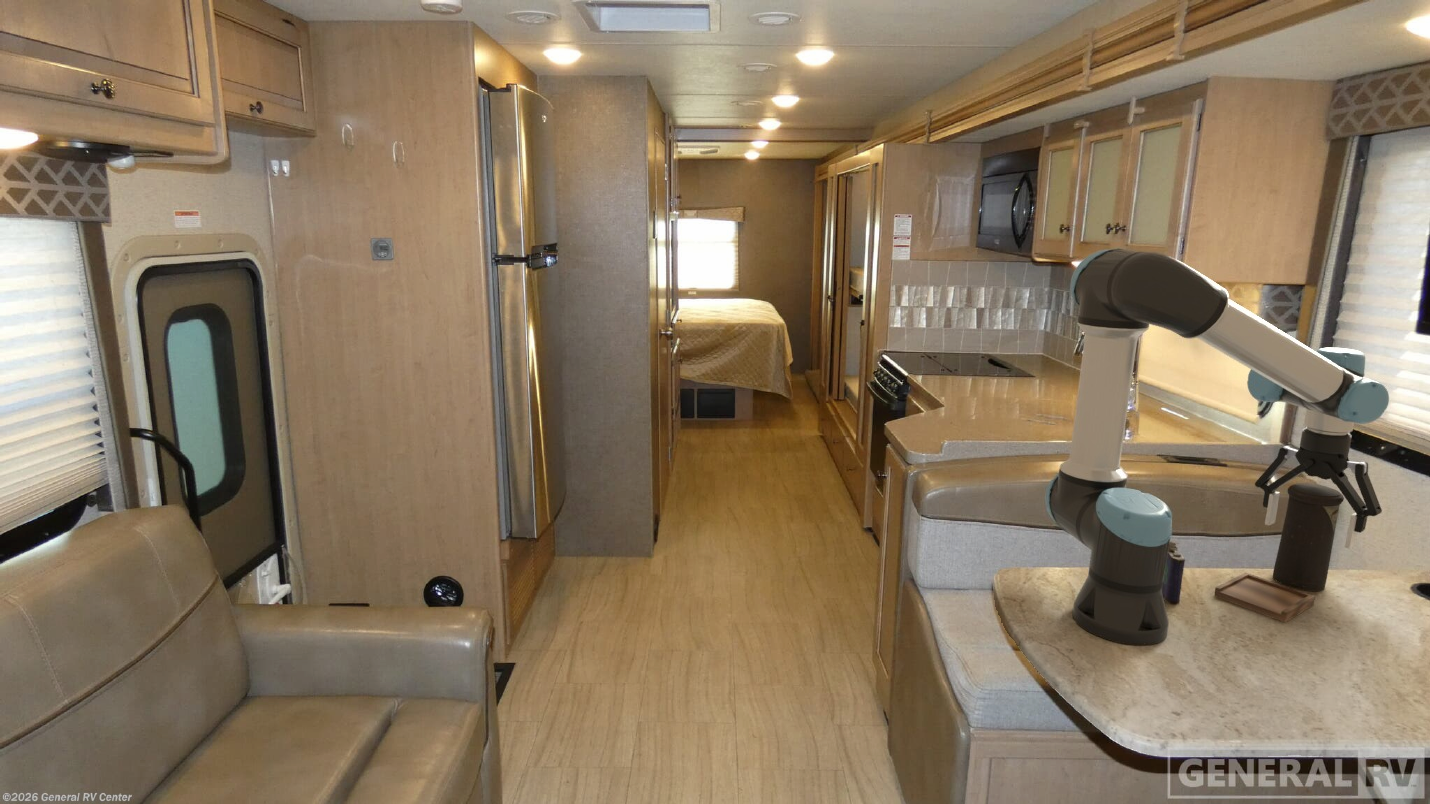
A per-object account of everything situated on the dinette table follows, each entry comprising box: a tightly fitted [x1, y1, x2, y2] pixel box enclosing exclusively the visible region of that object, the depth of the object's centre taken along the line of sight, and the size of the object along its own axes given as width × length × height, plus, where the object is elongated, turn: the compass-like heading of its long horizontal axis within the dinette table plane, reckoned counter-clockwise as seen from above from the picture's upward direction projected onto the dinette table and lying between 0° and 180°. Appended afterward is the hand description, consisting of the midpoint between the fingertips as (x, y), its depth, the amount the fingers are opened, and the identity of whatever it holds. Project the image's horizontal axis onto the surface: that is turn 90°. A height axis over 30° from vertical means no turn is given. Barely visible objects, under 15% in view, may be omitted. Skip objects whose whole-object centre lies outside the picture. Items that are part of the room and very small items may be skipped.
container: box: [1272, 482, 1345, 592], centre depth 157 cm, size 9×9×20 cm
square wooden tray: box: [1213, 572, 1316, 623], centre depth 152 cm, size 12×12×2 cm
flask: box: [1162, 541, 1186, 605], centre depth 153 cm, size 9×3×11 cm, turn 175°
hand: (1308, 534), depth 157 cm, fingers open, 13 cm apart
